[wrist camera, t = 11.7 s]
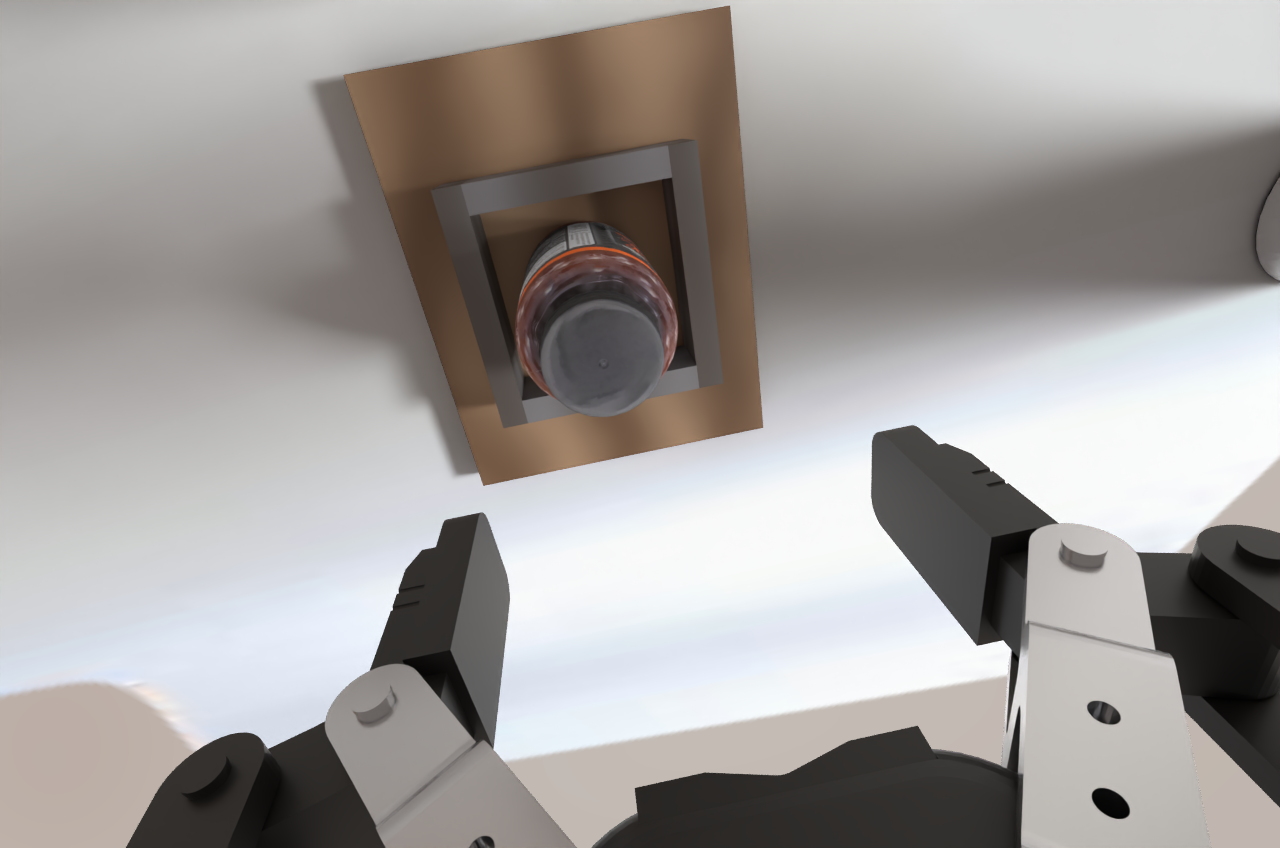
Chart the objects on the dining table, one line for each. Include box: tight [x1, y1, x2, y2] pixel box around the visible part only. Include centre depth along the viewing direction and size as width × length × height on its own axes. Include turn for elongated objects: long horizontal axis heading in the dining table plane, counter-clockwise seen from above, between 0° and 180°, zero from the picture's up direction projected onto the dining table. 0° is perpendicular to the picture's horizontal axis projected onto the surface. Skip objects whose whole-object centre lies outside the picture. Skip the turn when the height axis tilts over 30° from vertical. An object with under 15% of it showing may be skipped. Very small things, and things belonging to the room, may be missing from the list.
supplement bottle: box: [515, 221, 678, 417], centre depth 24 cm, size 6×6×11 cm
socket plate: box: [344, 6, 763, 486], centre depth 28 cm, size 16×20×4 cm
